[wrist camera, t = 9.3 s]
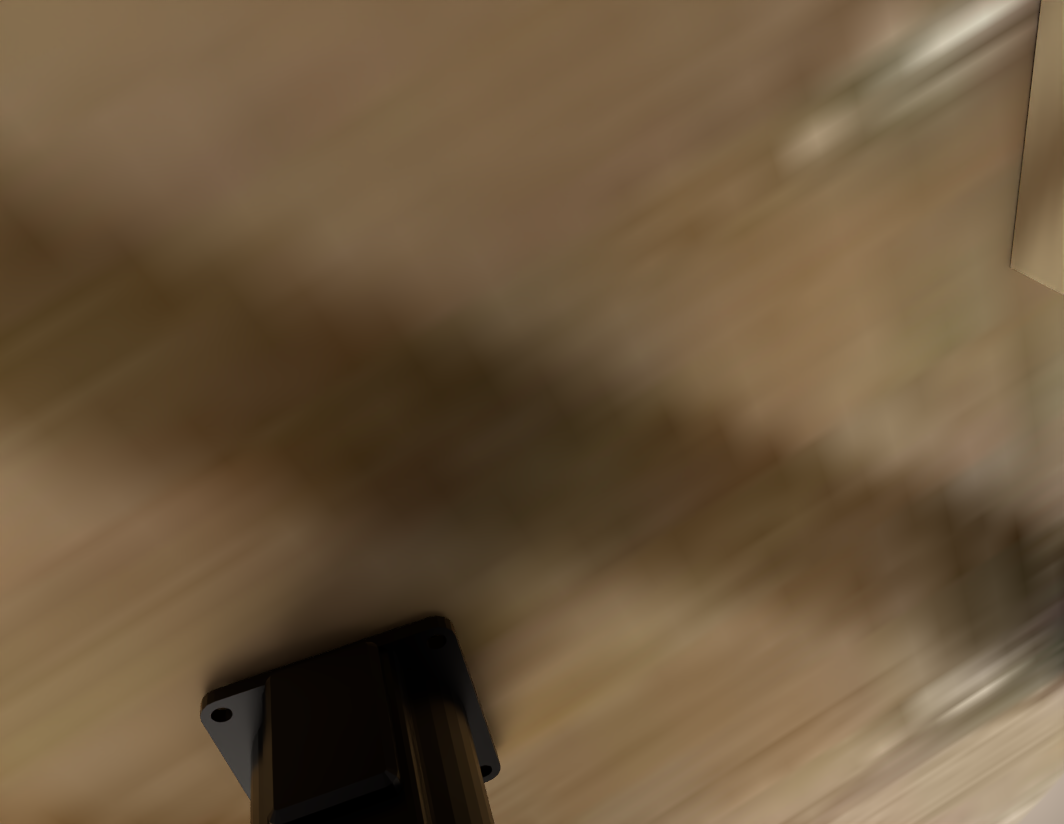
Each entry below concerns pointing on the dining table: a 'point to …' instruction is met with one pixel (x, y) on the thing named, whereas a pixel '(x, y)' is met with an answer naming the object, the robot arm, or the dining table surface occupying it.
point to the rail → (1044, 160)
